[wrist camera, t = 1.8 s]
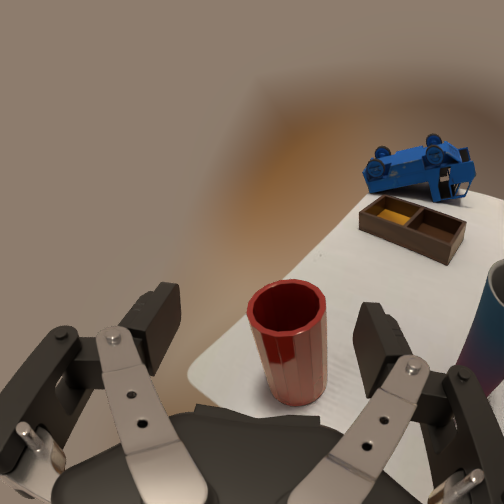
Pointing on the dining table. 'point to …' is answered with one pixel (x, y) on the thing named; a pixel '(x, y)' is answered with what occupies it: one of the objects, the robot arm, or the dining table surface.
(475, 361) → the cup
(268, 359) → the tumbler
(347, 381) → the dining table surface
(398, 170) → the toy vehicle
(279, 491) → the robot arm
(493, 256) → the dining table surface
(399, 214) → the caddy
